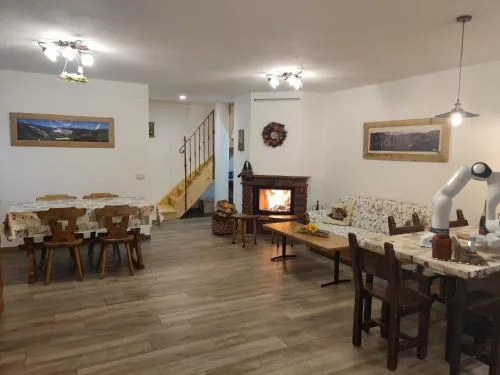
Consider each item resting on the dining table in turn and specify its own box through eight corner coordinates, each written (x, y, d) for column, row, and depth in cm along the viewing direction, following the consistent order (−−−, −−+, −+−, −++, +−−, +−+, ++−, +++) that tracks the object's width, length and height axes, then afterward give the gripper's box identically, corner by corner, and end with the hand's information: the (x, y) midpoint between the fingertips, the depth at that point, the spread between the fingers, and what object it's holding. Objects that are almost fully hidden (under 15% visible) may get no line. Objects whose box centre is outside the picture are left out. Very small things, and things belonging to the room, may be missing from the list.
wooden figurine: (451, 259, 233) (453, 232, 231) (451, 262, 227) (452, 234, 226) (431, 256, 239) (432, 230, 237) (430, 259, 234) (431, 232, 232)
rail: (456, 263, 225) (457, 244, 224) (450, 253, 247) (451, 236, 246) (482, 265, 220) (483, 246, 219) (473, 255, 242) (474, 237, 241)
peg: (467, 259, 233) (468, 241, 232) (466, 257, 236) (467, 239, 235) (474, 260, 231) (475, 241, 230) (473, 258, 235) (474, 240, 234)
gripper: (481, 231, 244) (462, 232, 243) (505, 238, 224) (484, 239, 222) (480, 240, 244) (461, 241, 243) (504, 248, 224) (484, 249, 223)
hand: (472, 240), depth 232 cm, fingers open, 8 cm apart
